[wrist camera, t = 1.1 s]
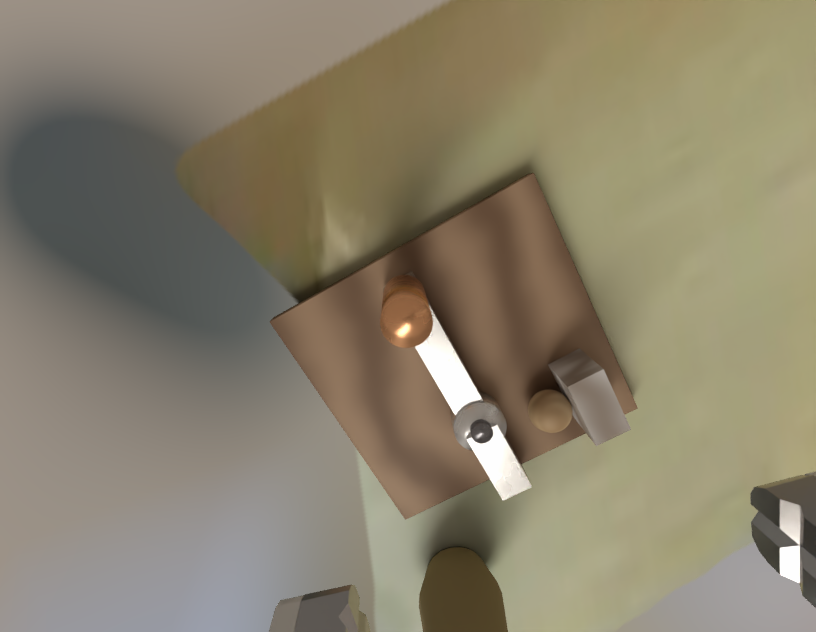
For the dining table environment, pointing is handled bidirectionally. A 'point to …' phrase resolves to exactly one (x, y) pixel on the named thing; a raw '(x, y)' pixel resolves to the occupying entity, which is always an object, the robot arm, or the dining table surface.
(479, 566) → the squeeze bottle
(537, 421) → the tan wooden ball
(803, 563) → the robot arm
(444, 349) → the lever
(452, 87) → the dining table surface
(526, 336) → the walnut board
